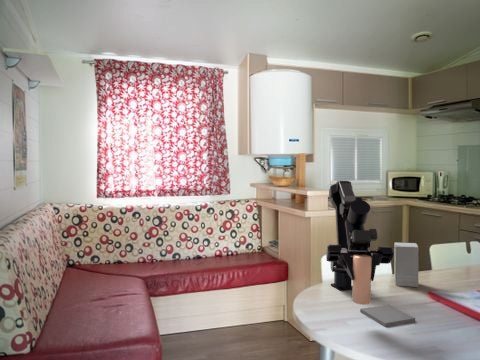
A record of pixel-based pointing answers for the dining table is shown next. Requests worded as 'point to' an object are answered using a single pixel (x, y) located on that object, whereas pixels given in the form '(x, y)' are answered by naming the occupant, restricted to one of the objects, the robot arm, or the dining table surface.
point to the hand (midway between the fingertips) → (362, 280)
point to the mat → (387, 315)
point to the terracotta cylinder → (361, 279)
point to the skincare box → (406, 264)
